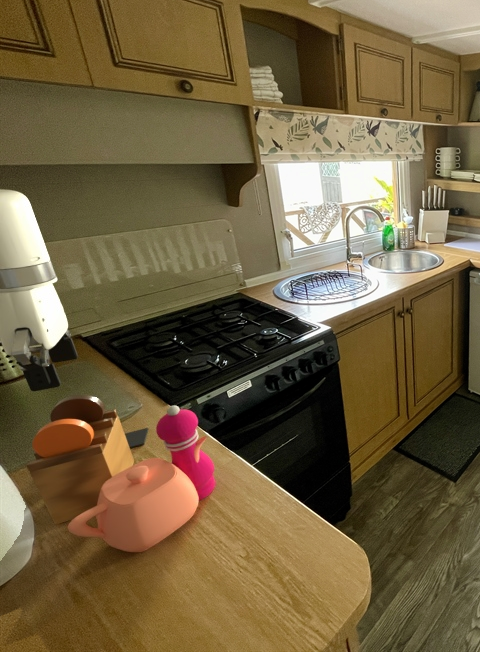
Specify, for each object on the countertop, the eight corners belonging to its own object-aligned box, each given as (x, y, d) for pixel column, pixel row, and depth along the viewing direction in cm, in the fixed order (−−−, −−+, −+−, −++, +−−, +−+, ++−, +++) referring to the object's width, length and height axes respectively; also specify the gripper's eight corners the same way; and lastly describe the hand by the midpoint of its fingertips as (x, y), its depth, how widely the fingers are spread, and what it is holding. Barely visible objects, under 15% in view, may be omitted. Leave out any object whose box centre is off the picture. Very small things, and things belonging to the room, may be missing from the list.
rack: (55, 525, 65) (25, 465, 60) (76, 477, 74) (52, 422, 70) (122, 503, 70) (100, 446, 65) (134, 461, 79) (115, 408, 74)
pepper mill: (220, 471, 77) (199, 391, 70) (216, 498, 71) (193, 413, 64) (178, 483, 74) (152, 399, 67) (169, 512, 68) (140, 424, 61)
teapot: (237, 495, 72) (226, 446, 68) (107, 592, 56) (80, 535, 51) (198, 468, 78) (185, 421, 74) (69, 549, 61) (42, 494, 57)
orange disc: (41, 465, 62) (25, 431, 60) (44, 459, 63) (28, 426, 61) (97, 450, 66) (84, 418, 63) (99, 445, 67) (86, 413, 64)
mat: (108, 454, 80) (108, 452, 80) (115, 437, 85) (114, 436, 85) (144, 444, 83) (143, 443, 83) (148, 428, 88) (148, 427, 88)
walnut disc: (57, 436, 69) (43, 405, 66) (60, 431, 70) (46, 400, 67) (108, 424, 72) (96, 394, 70) (109, 420, 73) (98, 390, 71)
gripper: (5, 263, 60) (42, 355, 66) (-53, 297, 47) (0, 408, 53) (69, 259, 64) (99, 346, 70) (32, 289, 51) (73, 394, 57)
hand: (56, 373), depth 62 cm, fingers open, 9 cm apart
